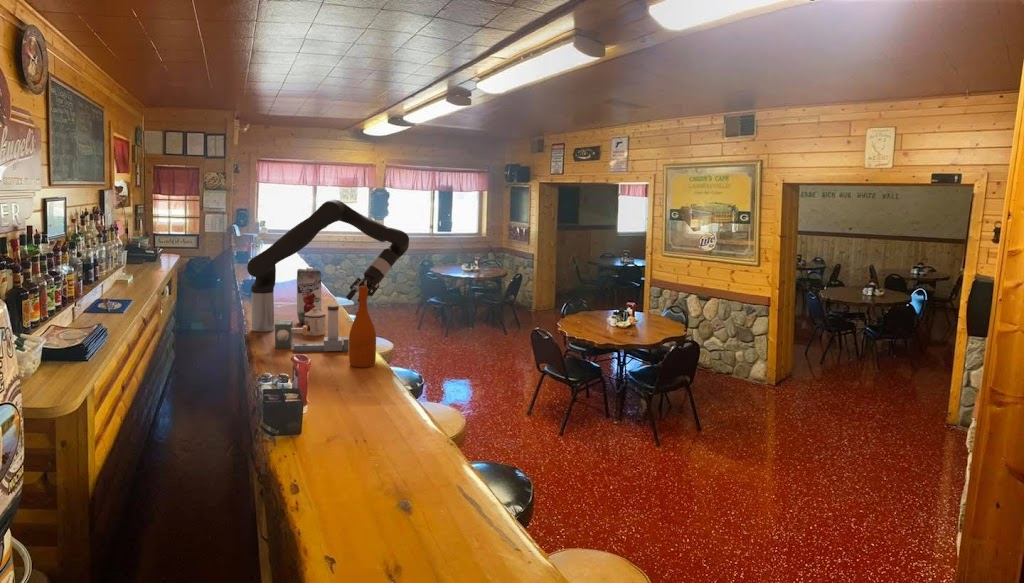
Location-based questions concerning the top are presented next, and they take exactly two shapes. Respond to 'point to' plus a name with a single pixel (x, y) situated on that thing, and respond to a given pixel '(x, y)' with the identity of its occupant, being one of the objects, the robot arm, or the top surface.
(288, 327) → the gauge cabinet
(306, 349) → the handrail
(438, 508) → the top surface
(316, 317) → the teacup with lid
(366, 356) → the wine bottle
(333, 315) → the post
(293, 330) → the plunger
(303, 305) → the juice carton
